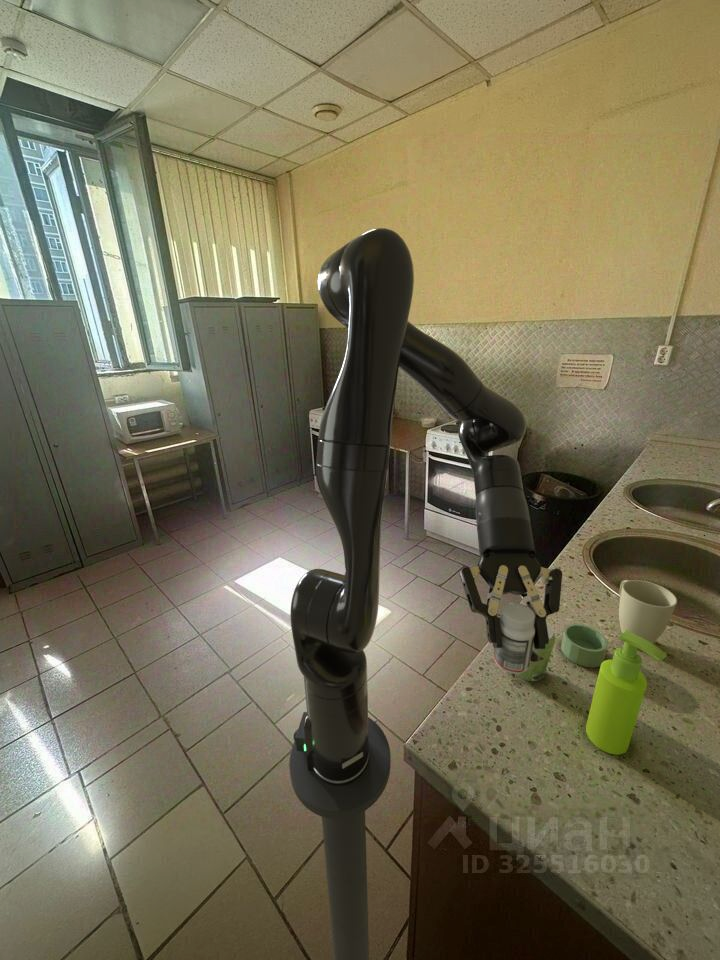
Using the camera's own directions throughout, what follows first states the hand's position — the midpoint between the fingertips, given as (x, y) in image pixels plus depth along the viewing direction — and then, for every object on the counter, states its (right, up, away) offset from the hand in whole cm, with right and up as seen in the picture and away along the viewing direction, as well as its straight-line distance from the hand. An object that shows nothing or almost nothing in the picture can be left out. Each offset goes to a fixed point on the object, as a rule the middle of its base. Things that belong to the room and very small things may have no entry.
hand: (518, 647), depth 51 cm
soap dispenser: (+19, -20, +12) cm, 30 cm away
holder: (+24, -13, +29) cm, 40 cm away
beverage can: (+12, -15, +24) cm, 31 cm away
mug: (+37, -12, +33) cm, 51 cm away
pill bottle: (0, -3, +3) cm, 5 cm away
